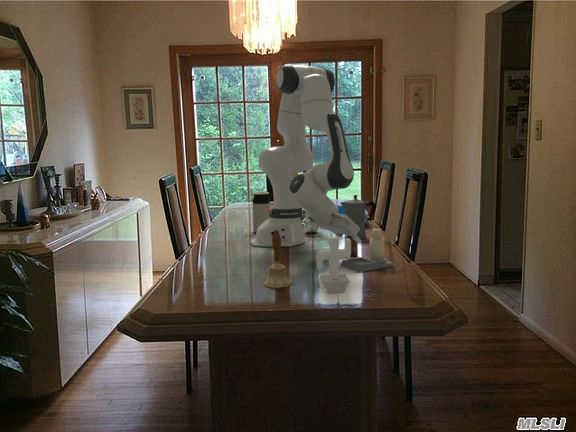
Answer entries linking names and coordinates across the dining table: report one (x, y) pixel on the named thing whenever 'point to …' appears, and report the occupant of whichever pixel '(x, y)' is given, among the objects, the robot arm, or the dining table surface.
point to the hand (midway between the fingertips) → (348, 237)
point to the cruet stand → (375, 256)
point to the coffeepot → (358, 213)
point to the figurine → (334, 265)
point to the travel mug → (260, 209)
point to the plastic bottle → (310, 224)
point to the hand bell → (277, 266)
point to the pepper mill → (353, 247)
